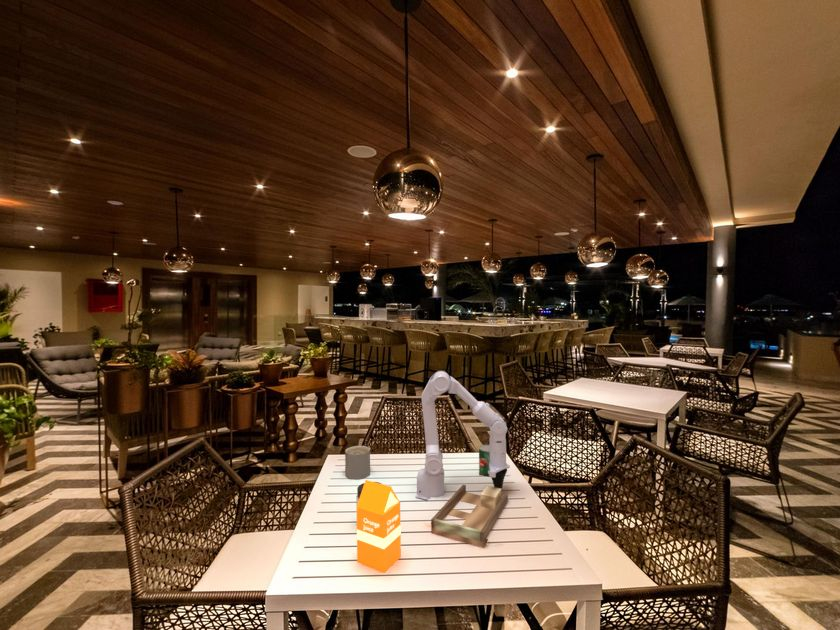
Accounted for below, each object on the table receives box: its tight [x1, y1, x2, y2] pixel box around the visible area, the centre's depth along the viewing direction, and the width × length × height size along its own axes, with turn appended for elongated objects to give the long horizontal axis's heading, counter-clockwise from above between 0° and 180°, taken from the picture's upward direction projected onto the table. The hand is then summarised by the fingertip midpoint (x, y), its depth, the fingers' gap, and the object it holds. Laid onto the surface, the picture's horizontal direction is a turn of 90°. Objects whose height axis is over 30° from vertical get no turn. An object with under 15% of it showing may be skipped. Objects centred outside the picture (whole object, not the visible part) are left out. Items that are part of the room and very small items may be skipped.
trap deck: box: [430, 484, 509, 549], centre depth 118 cm, size 16×26×4 cm, turn 152°
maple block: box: [480, 485, 502, 510], centre depth 125 cm, size 5×7×4 cm
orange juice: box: [356, 479, 402, 574], centre depth 99 cm, size 8×9×20 cm
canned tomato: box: [478, 444, 490, 478], centre depth 151 cm, size 8×8×11 cm
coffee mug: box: [344, 445, 371, 481], centre depth 155 cm, size 13×10×10 cm
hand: (498, 490), depth 132 cm, fingers closed
